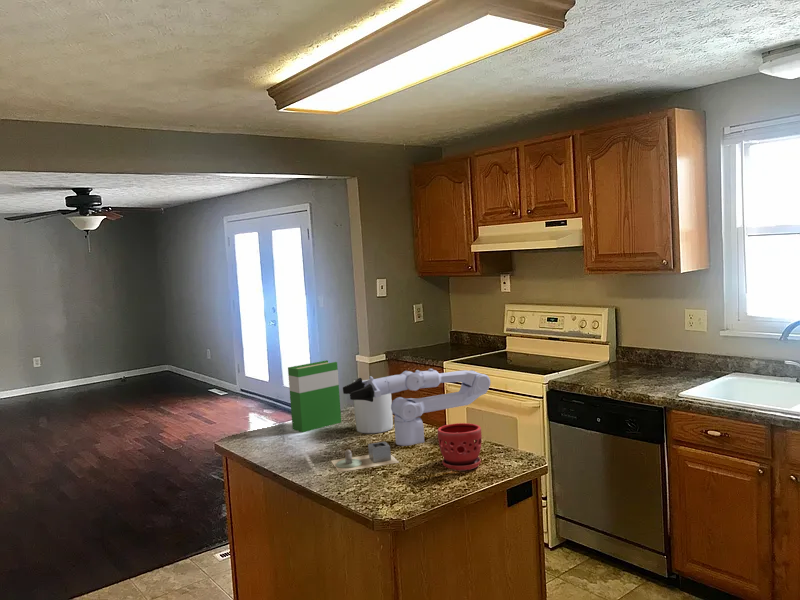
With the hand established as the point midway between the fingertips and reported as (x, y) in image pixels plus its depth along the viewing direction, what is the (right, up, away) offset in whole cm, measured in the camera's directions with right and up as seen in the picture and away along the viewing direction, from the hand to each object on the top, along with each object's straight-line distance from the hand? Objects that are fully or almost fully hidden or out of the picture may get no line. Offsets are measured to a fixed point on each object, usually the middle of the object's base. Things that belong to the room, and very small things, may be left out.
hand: (346, 393), depth 217 cm
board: (+6, -21, -9) cm, 24 cm away
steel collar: (+11, -20, -8) cm, 24 cm away
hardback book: (-15, -19, +41) cm, 48 cm away
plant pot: (+36, -20, -16) cm, 44 cm away
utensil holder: (+8, -18, +32) cm, 38 cm away
